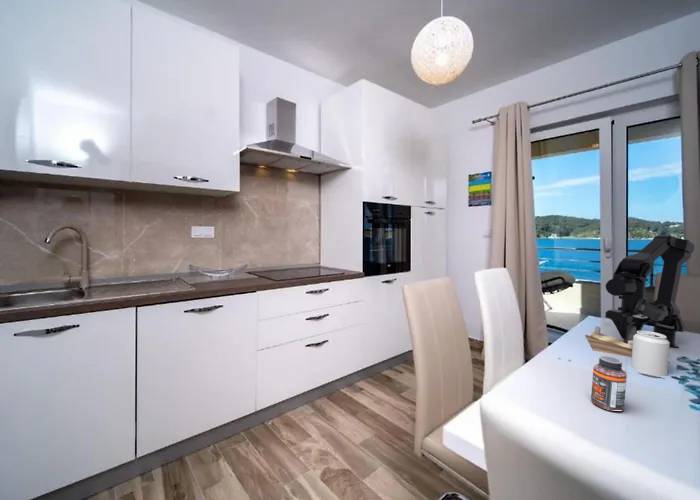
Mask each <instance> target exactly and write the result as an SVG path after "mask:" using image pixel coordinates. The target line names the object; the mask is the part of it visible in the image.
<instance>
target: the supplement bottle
mask: <svg viewBox="0 0 700 500" xmlns="http://www.w3.org/2000/svg"><path fill="white" fill-rule="evenodd" d="M622 367H623V362H622V361H621V360H620V359H619V358H616V357H612V356H608V355H607V356H606V355H602V356H601V355H600V356H599V358H598V363H597V364H594V366H593V369H592V370H593V371H592V380H591V381H592V384H591V393H590V400H591V402H592V403H593V404H594V405H595V404H596V405H597V406H596V405H595V406H596V407H598V406H600V407H602V408H605V409H609V410H623V409H624V410H625V402H626V401H625V400H626V392H627V391H626V388H627V377H628V375H627V373H626V371H625V370H623V368H622ZM600 407H599V408H600ZM602 408H601V409H602ZM624 410H623V411H624Z"/></svg>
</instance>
